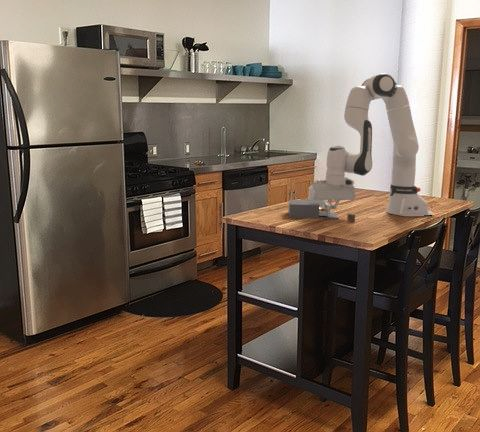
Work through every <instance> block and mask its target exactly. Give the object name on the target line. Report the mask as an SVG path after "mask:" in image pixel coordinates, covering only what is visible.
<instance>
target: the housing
mask: <svg viewBox="0 0 480 432" xmlns="http://www.w3.org/2000/svg"><path fill="white" fill-rule="evenodd" d="M289 217H290V218H292V219H293V218H296V219H297V218H298V219H299V218H300V219H323V220H324V219H325V220H327V219H328V220H329V219H330V220H339V216H338V215H337V213H336V212H333V211H330V217H327V216H319V203H318V201H317V200H308V199H288V218H289Z"/></svg>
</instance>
